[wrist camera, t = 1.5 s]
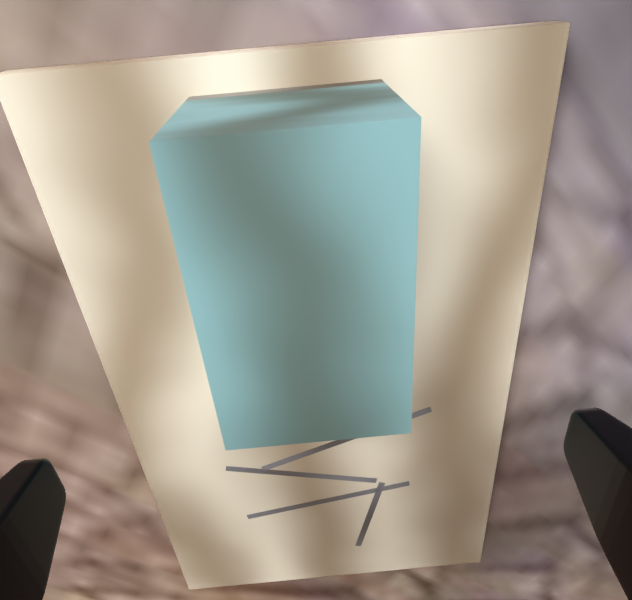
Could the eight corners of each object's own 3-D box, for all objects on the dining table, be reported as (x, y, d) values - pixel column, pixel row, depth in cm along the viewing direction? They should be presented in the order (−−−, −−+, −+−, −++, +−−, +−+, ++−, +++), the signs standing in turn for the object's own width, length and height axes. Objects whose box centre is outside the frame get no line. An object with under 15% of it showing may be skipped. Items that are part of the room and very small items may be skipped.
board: (554, 20, 15) (570, 22, 14) (474, 544, 28) (480, 562, 28) (7, 70, 15) (-10, 75, 14) (192, 571, 28) (189, 589, 28)
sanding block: (381, 78, 14) (421, 116, 10) (383, 334, 19) (411, 433, 15) (189, 96, 14) (149, 141, 10) (238, 347, 19) (225, 450, 15)
